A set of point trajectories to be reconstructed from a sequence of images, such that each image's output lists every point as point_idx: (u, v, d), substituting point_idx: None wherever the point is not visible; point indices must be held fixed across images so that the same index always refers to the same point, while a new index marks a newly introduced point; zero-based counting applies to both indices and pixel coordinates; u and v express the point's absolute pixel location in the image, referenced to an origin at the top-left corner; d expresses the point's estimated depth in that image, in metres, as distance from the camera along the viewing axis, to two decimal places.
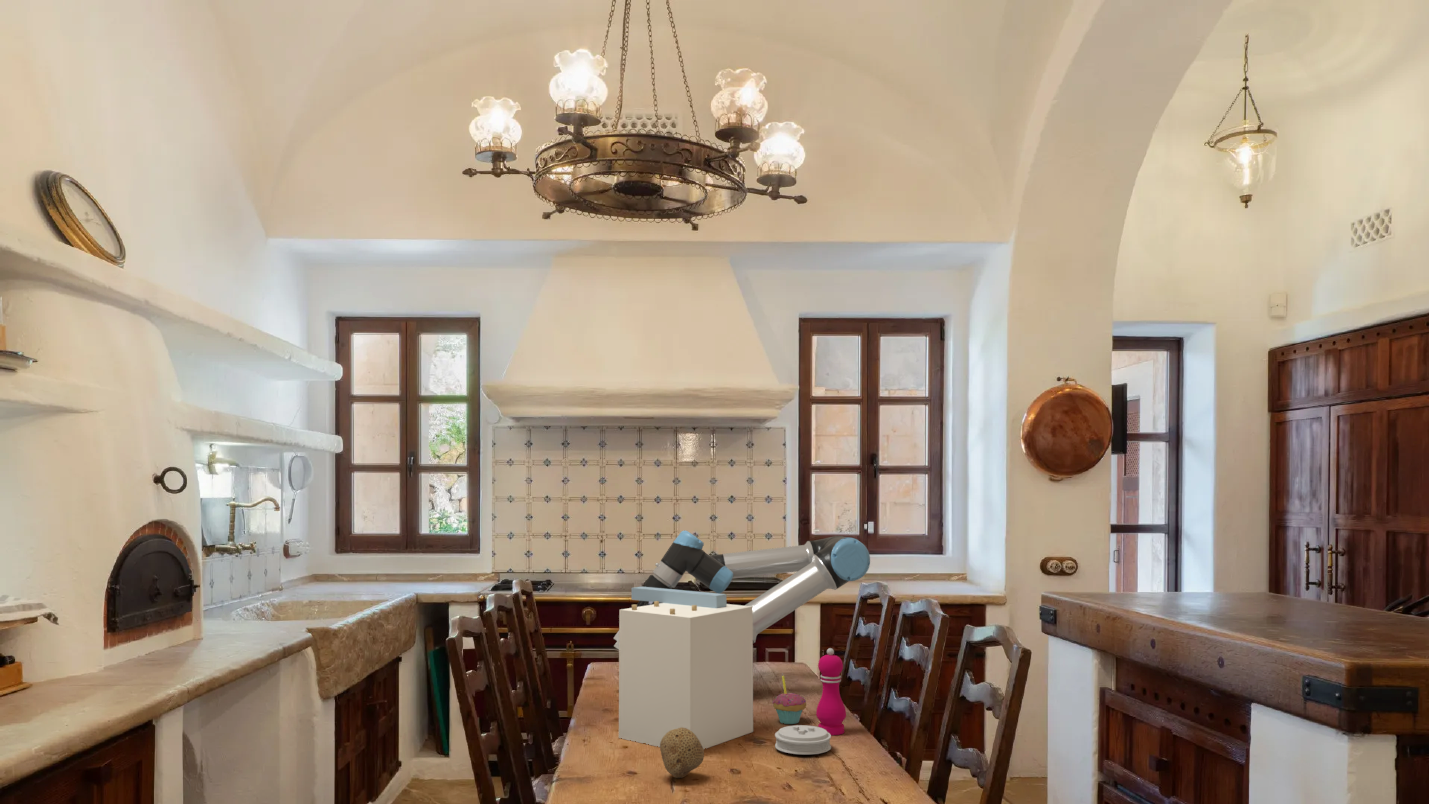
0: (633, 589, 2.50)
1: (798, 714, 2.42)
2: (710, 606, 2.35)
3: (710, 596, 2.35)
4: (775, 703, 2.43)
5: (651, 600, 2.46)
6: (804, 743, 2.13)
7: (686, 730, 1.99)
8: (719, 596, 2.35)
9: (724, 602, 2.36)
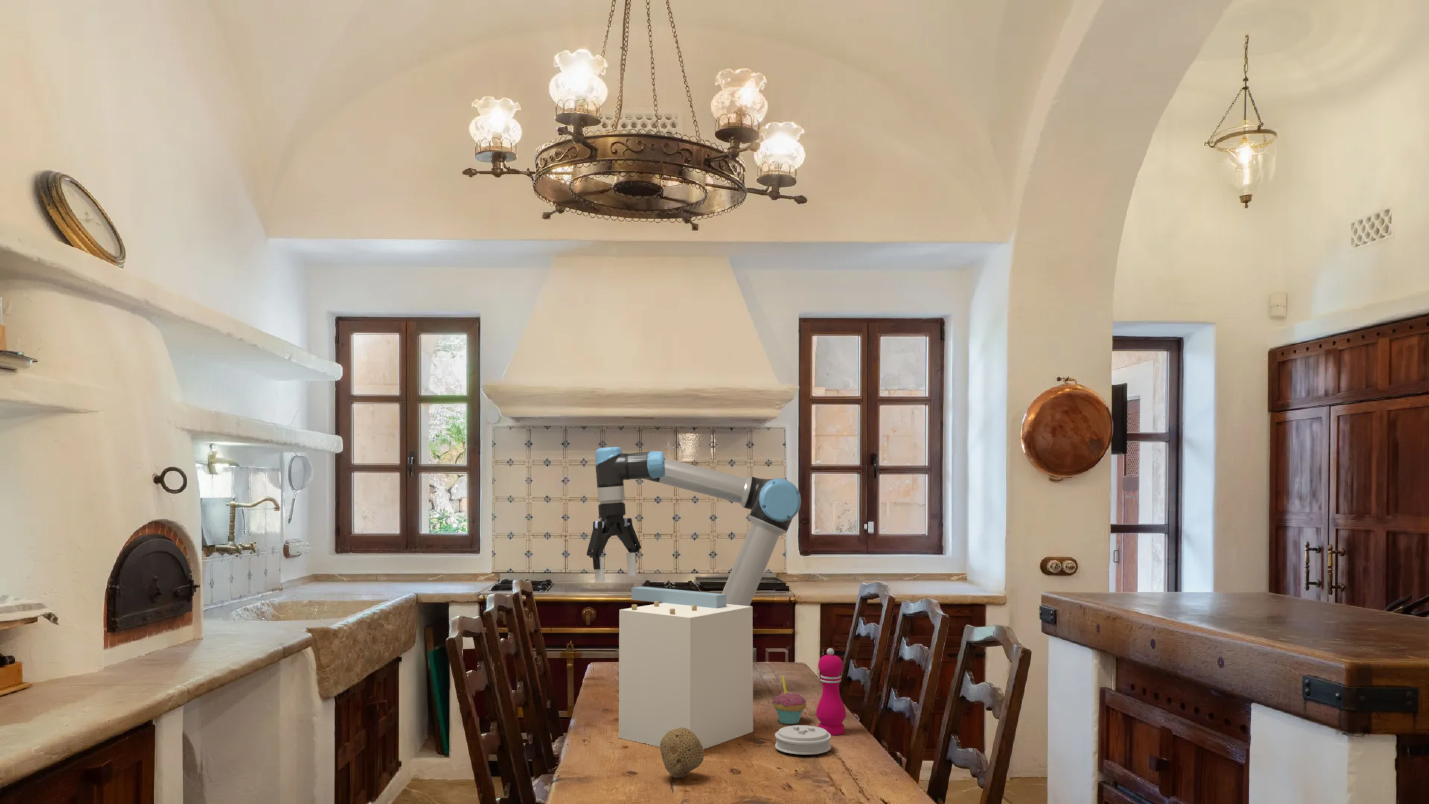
0: (633, 589, 2.50)
1: (798, 714, 2.42)
2: (710, 606, 2.35)
3: (710, 596, 2.35)
4: (775, 703, 2.43)
5: (651, 600, 2.46)
6: (804, 743, 2.13)
7: (686, 730, 1.99)
8: (719, 596, 2.35)
9: (724, 602, 2.36)
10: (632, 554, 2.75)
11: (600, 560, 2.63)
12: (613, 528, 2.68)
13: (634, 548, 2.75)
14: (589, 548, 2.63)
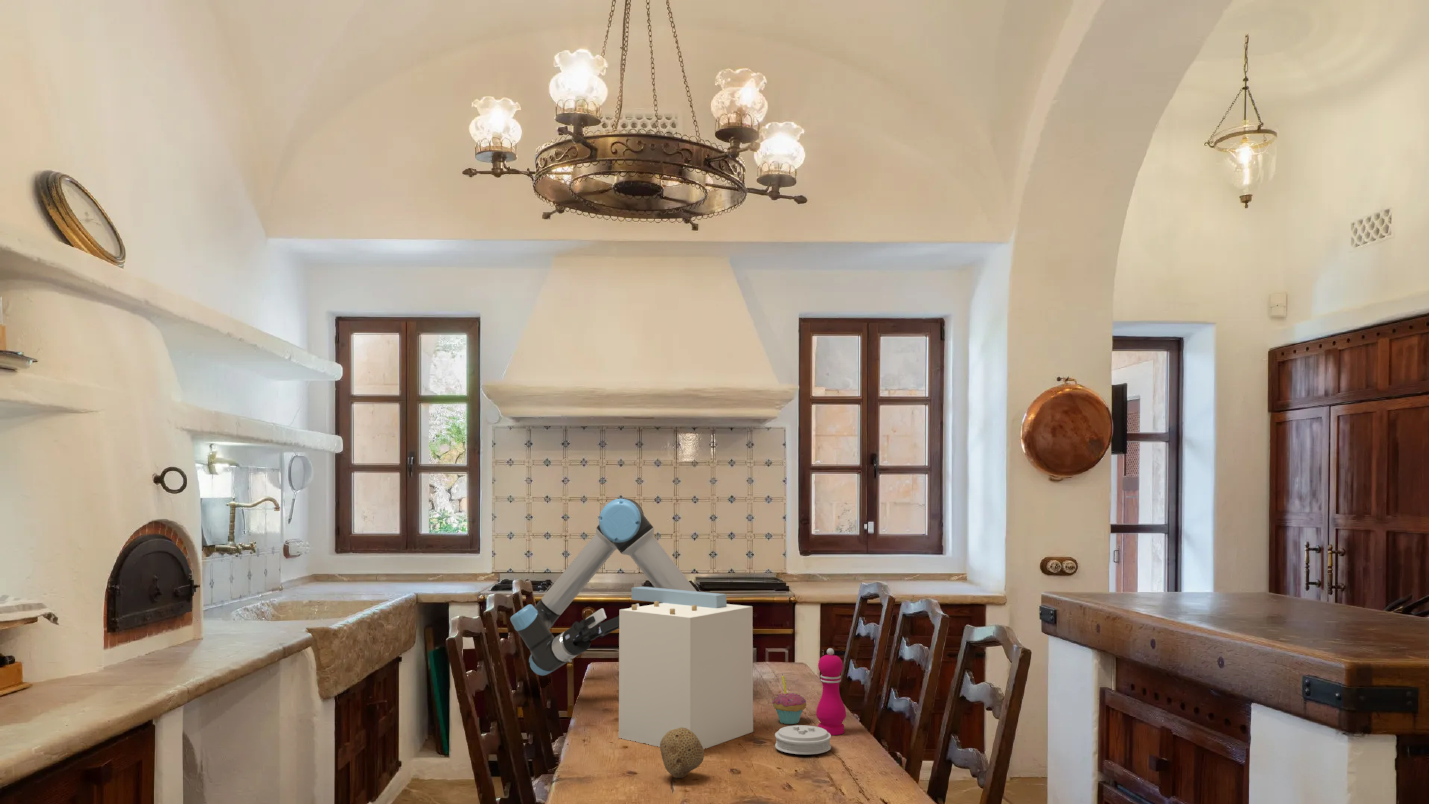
0: (633, 589, 2.50)
1: (798, 714, 2.42)
2: (710, 606, 2.35)
3: (710, 596, 2.35)
4: (775, 703, 2.43)
5: (651, 600, 2.46)
6: (804, 743, 2.13)
7: (686, 730, 1.99)
8: (719, 596, 2.35)
9: (724, 602, 2.36)
10: None
11: (587, 618, 2.53)
12: None
13: None
14: (574, 630, 2.52)
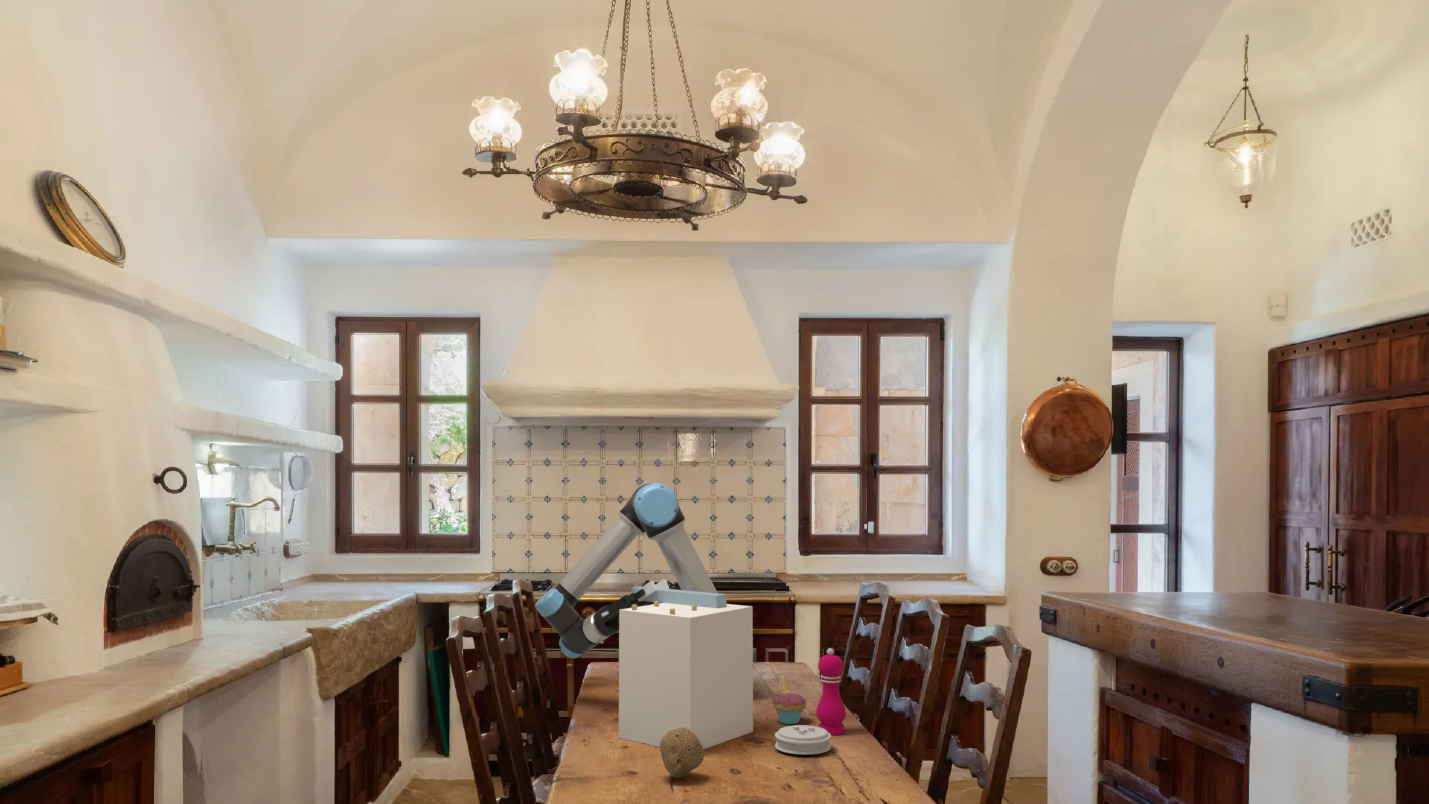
0: (633, 589, 2.50)
1: (798, 714, 2.42)
2: (710, 606, 2.35)
3: (710, 596, 2.35)
4: (775, 703, 2.43)
5: (651, 600, 2.46)
6: (804, 743, 2.13)
7: (686, 730, 1.99)
8: (719, 596, 2.35)
9: (724, 602, 2.36)
10: None
11: (637, 591, 2.49)
12: None
13: None
14: (623, 604, 2.47)
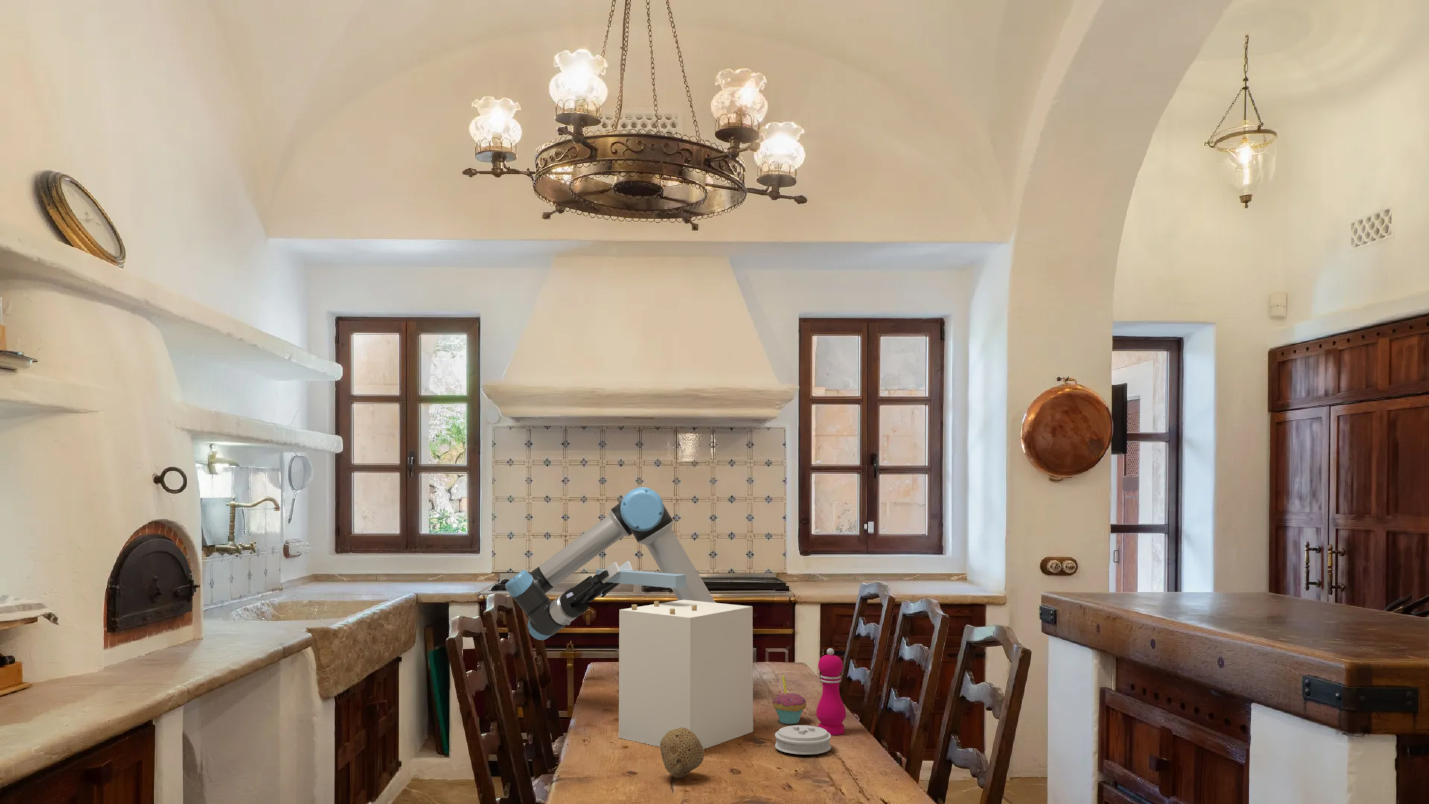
0: (597, 571, 2.54)
1: (798, 714, 2.42)
2: (670, 586, 2.37)
3: (670, 576, 2.38)
4: (775, 703, 2.43)
5: (614, 581, 2.50)
6: (804, 743, 2.13)
7: (686, 730, 1.99)
8: (679, 576, 2.37)
9: (684, 582, 2.39)
10: None
11: (601, 573, 2.52)
12: None
13: None
14: (587, 585, 2.51)
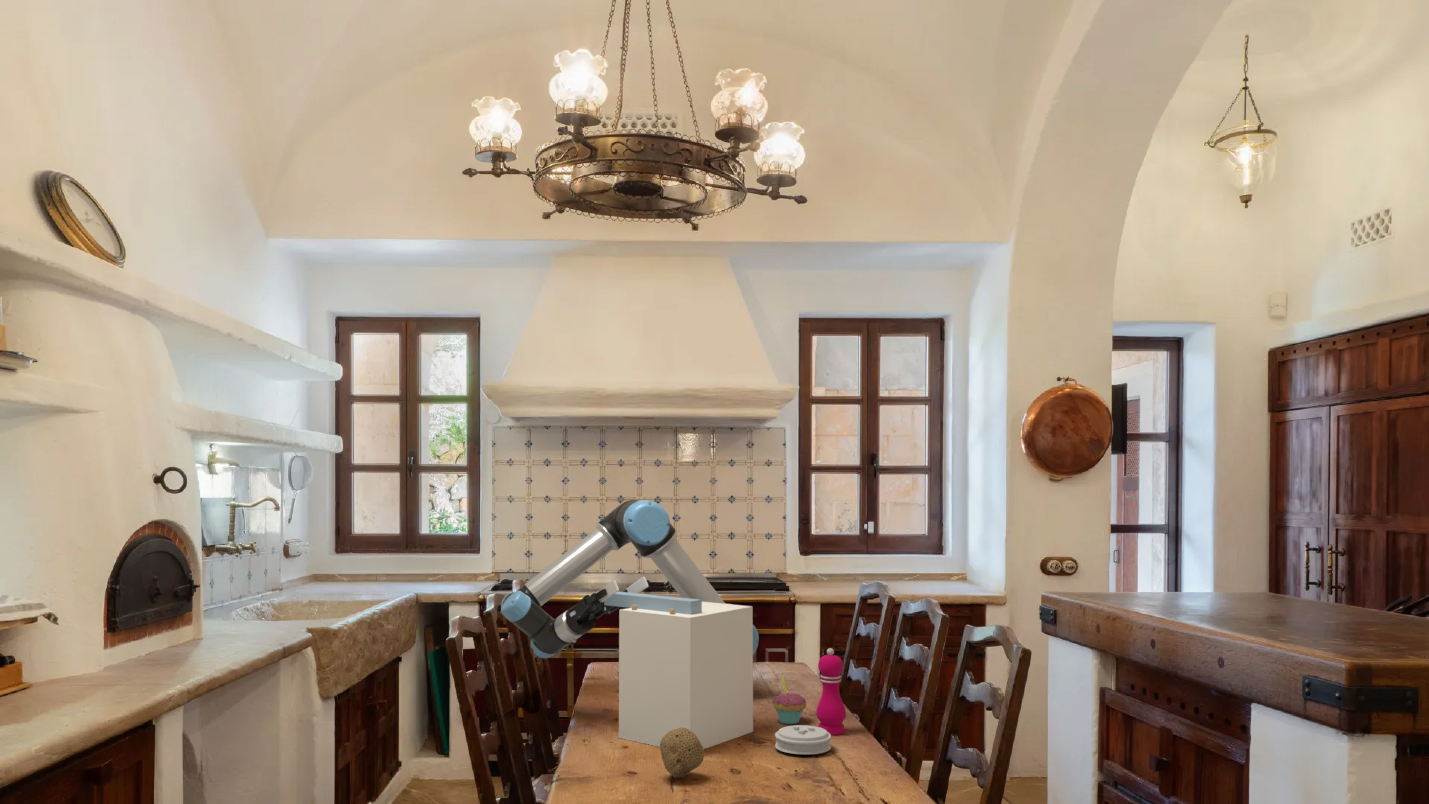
0: None
1: (798, 714, 2.42)
2: (684, 612, 2.24)
3: (684, 602, 2.24)
4: (775, 703, 2.43)
5: (624, 606, 2.36)
6: (804, 743, 2.13)
7: (686, 730, 1.99)
8: (694, 602, 2.24)
9: (699, 608, 2.25)
10: (628, 589, 2.45)
11: (599, 591, 2.36)
12: None
13: None
14: (585, 605, 2.35)
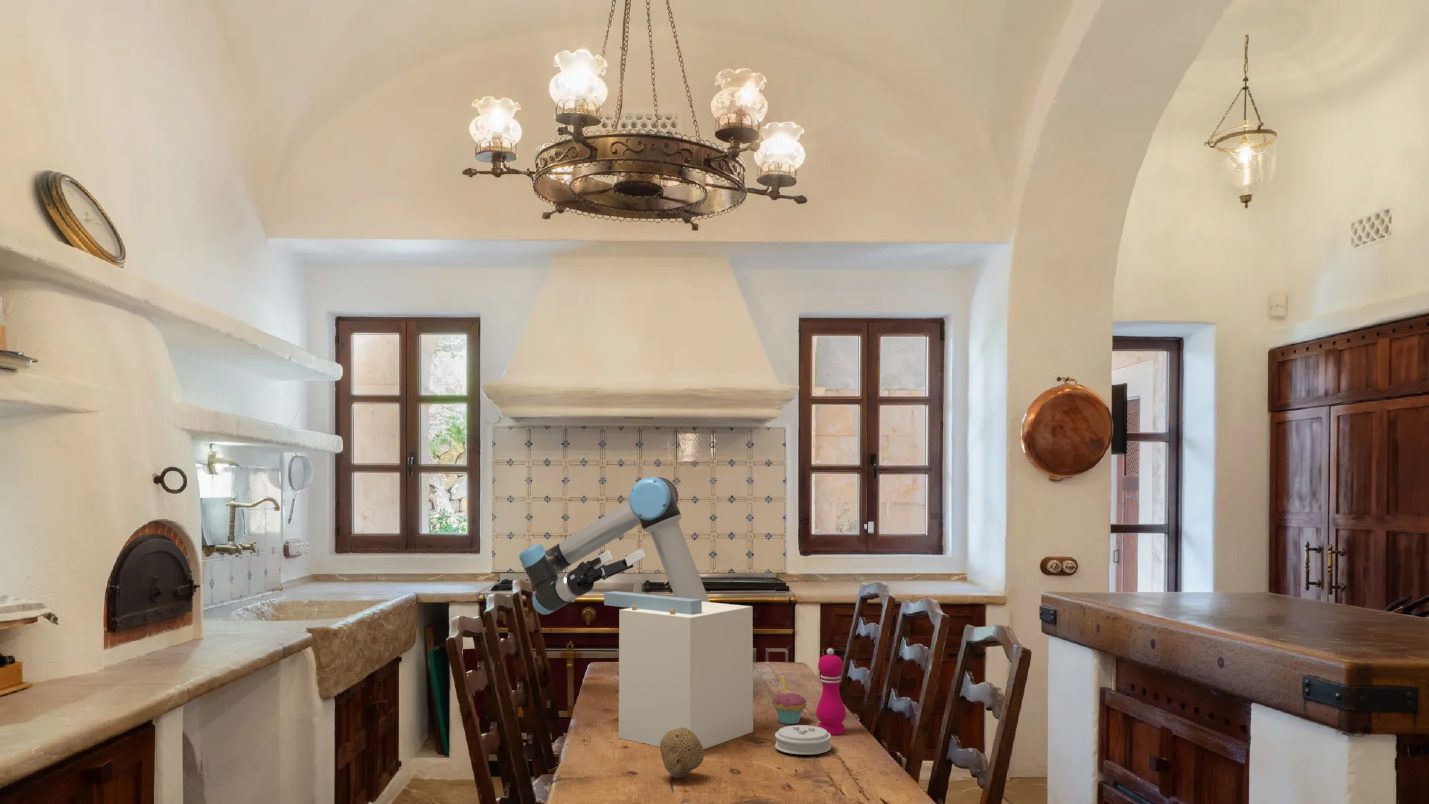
0: (606, 594, 2.40)
1: (798, 714, 2.42)
2: (684, 612, 2.24)
3: (684, 602, 2.24)
4: (775, 703, 2.43)
5: (624, 606, 2.36)
6: (804, 743, 2.13)
7: (686, 730, 1.99)
8: (694, 602, 2.24)
9: (699, 608, 2.25)
10: (626, 558, 2.72)
11: (593, 559, 2.61)
12: None
13: None
14: (580, 570, 2.60)
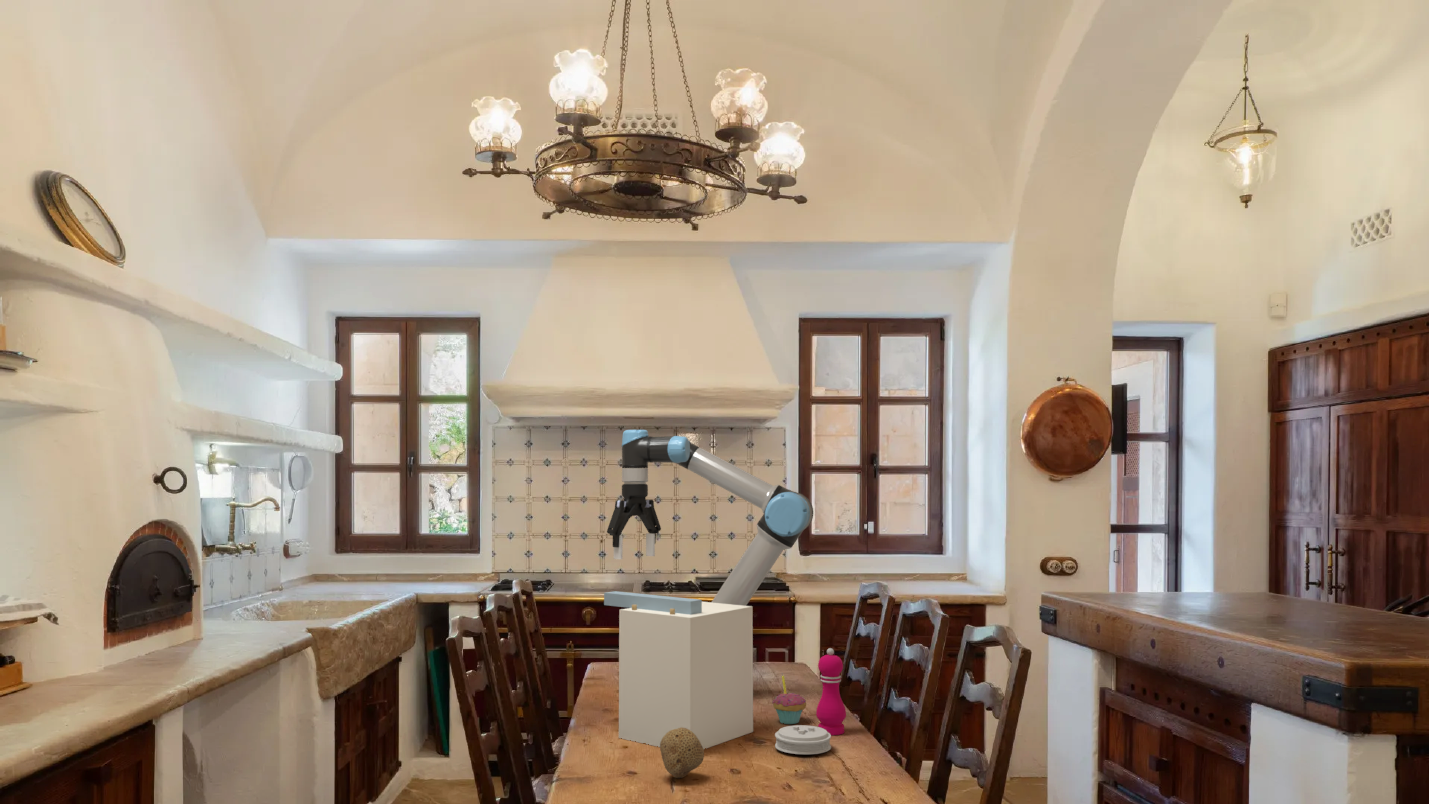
0: (606, 594, 2.40)
1: (798, 714, 2.42)
2: (684, 612, 2.24)
3: (684, 602, 2.24)
4: (775, 703, 2.43)
5: (624, 606, 2.36)
6: (804, 743, 2.13)
7: (686, 730, 1.99)
8: (694, 602, 2.24)
9: (699, 608, 2.25)
10: (651, 535, 2.82)
11: (619, 538, 2.71)
12: (634, 508, 2.75)
13: (654, 529, 2.82)
14: (610, 526, 2.71)
